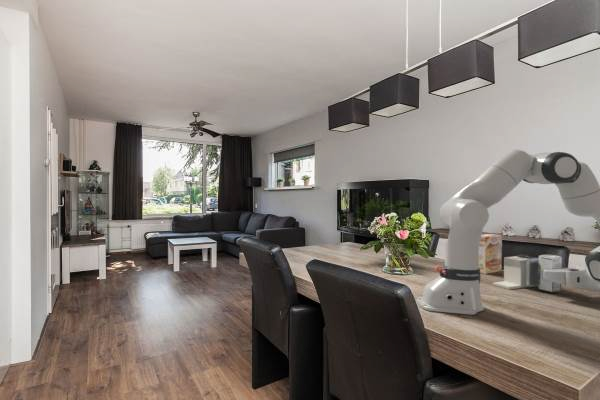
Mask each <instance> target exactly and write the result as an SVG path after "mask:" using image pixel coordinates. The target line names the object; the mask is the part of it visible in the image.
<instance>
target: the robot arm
mask: <svg viewBox="0 0 600 400" xmlns="http://www.w3.org/2000/svg"><path fill="white" fill-rule="evenodd" d="M522 181H523V182H525V183H528V184H540V185H541V184H542V185H553V184H554V185H555V186H556V187H557V189H558V192H559V195H560V198H561V201H562V203H563V205H564V207H565V208H566V210H567V212H569V213H570V214H573V215H575V216H577V217H583V218H586V217H589V218H590V217H591V218H593V219H594V220H595V221H596V222H597V225H598V227H599V228H600V183H599V181H598V179H597V177H596V175H595V174H594V172H593V170H592V169H591V168H590V167H589V165H588V164H586V163H584V162H580V161H578V159H577V158H576V157H575V156H574V155H572V154H570V153H568V152H564V151H563V152H562V151H556V152H555V151H554V152H542V153H541V152H540V153H537V154H529V153H528V152H527V151H524V150H522V149H512V150H510V151H508V152H506V153H504V154H503V155H502V156H500V157H499V158H498V159H496V160H495V161H493V163H492V164H490V166H488V167H487V168H486V169H485V170H484V171H483V172H482V173H481V174H480V175H478V177H476V179H474V180H473V181H472V182H470V183H469V184H468V185H466V186H465V187H464V188H462V189H461V190H460V191H458V192H457V193H456V194H455V195H453V196H452V197H451V198H449V199H448V200H447V201H445V202H444V203H443V204H442V205H441V206H440V208H439V217H440V219H441V221H442V222H443V223H444V224H445V225H447V226H448V227H449V233H448V236H447V240H446V243H445V245H444V247H445V248H444V265H443V266H440V265H436V266H435V271H436V272H439V276H437V277H436V278H434V279H433V280H431V281H429V282H428V283H427V284H425V285H424V287H423V291H422V295H421V296H418V297H417V298H416V303H417V305H418V306H419V307H420V308H422V309H424V310H425V311H427V312H429V311H430V312H439V313H449V314H450V313H451V314H458V315H459V314H460V315H469V316H470V315H471V316H473V315H476V314H477V313H478V312H479V313H480V312H482V311H484V310H485V307H484V304H483V301H482V296H481V294H482V293H481V289H480V284H481V278H482V277H481V273H480V269H479V245H480V240H481V236H482V235H483V231H484V227H485V226H486V225H487V223H488V221H489V219H490V215H489V214H490V213H489V211H488V209H490V207H491V208H492V206H494V205H496V204H498V203H499V202H501V201H502V200H503V199H504V198H505V197H507V195H508V194H509V193H511V192H512V191H513V190H514V189H515V188H516V187H517V186H518V185H519V184H520V183H521V182H522ZM584 262H585V265H578V266H573V267H563V268H561V269H551V270H547V269H541V273H542V274H543V277H544V279H545V280H548V281H551V282H554V283H558V284H561V285H564V286H565V287H566V288H570V289H580V290H585V291H590V292H598V293H599V292H600V245H599V246H598V247H595V248H594V249H592V250H591V251H589V252H588V253H587V254H586V255H585V257H584Z"/></svg>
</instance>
